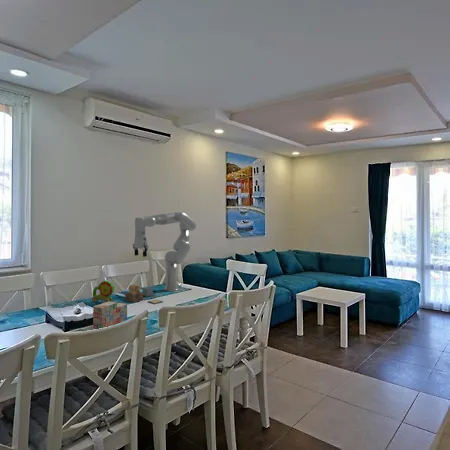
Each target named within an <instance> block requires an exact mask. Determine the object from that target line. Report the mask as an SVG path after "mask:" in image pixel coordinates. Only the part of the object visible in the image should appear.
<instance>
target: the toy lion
mask: <svg viewBox="0 0 450 450" xmlns="http://www.w3.org/2000/svg"><path fill="white" fill-rule="evenodd" d="M97 290H99V293H98V294H97ZM114 292H115V286H114V285H113V283H112V282H111V281H109V280H107V279H106V280H103V281H101V282H100V283H99V284H98V285H97V286H95V287H94V288H93V290H92V297H91V301H92V303H95V302H99V301H100V300H101V301H103V303H105V302H108V301H110V302H113V297H112V296H111V295H113V293H114Z"/></svg>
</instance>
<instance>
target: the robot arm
mask: <svg viewBox="0 0 450 450" xmlns="http://www.w3.org/2000/svg"><path fill="white" fill-rule="evenodd" d="M176 223H177V224H179V230H180V233H179V236H178V237H177V239H176V240H175V242H174V244H173V246H172V248H173V250H174V251H173V250H170V251H167V252H166V253H165V256H164V261H165V287H164V288H163V291H166V292H175V291H176V292H178V291H180V287H181V286H182V285H183V284H182V283H178V277H179V276H178V272H179V271H178V270H179V268H178V265H181V264H182V263H183V262H184V261H185V259H186V257H187V256H188V254H189V252H190V250H191V244H190V242H188V241H189V240H190V238H191V237H190V236H191V234H190V232H192V231H195V230H196V227H197V224H196V222H195V220H193V219H192V218H191V217H190V216H189V215H188V214H186V213H184V212H182V211H181V212H178V211H177V212H176V211H175V212H169V213H161V214H155V215H154V214H153V215H148V216H147V215H146V216H142V217H141V216H140V217H135V218H134V241H133V244H132V249H133V250H134V256H135V257H137V256H139V249H140V250H141V249H142V257H144V258H145V257H147V256H148V253H147V252H148V249H149V247H150V246H149V245H148V240H147V235H146V227H151V228H152V227H154V226H155V225H159V226H160V225H161V226H162V225H170V224H171V225H172V224H176Z"/></svg>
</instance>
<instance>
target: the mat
mask: <svg viewBox="0 0 450 450" xmlns="http://www.w3.org/2000/svg"><path fill="white" fill-rule="evenodd" d="M147 303H148V304H152V305H157V304H161V303H164V301H162V300H159V299H152V300H148V301H147Z"/></svg>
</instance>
